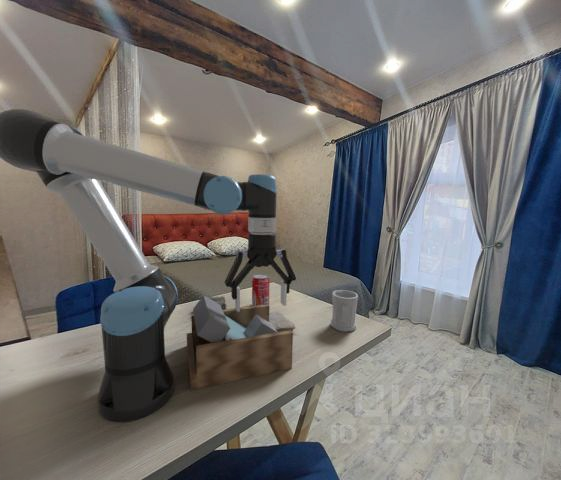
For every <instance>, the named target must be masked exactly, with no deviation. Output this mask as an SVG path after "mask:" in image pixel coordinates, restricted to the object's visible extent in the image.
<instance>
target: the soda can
mask: <svg viewBox="0 0 561 480" xmlns="http://www.w3.org/2000/svg"><path fill="white" fill-rule="evenodd" d="M251 298H252V299H251V305H252V306H258V305H266V304H268V305H269V306H270V278H269V274H266V273H264V274H263V273H258V274H254V275H253V276H252V281H251Z"/></svg>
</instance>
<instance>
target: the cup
mask: <svg viewBox="0 0 561 480" xmlns="http://www.w3.org/2000/svg"><path fill="white" fill-rule="evenodd" d="M331 294H332V295H331V296H332V297H331V298H332V317H331V320H330V325H331V327H332V328H333V329H335V331H336V330H337V331H340V332H346V333H347V332H348V331H349V332H352V331H354V330H356V329H357V322H356V314H357V306H358V301H359V295H358V293H357V292H354V291H352V290H347V289H346V290H345V289H339V290H338V289H337V290H334V291H332V293H331ZM349 332H348V333H349Z"/></svg>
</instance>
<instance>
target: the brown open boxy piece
mask: <svg viewBox="0 0 561 480" xmlns="http://www.w3.org/2000/svg"><path fill="white" fill-rule="evenodd" d="M223 312H224V315H225V316H227V317H229V318H230V319H232V320H234V321H236V322H237V323H239V324H241V325H243V326H244V327H246V328H247V326H248V325H249V323H250V322H251V321H252V319H253V318H254V316H255V315H258V316H260V317H261V318H263V319H264V320H266V321H268V322H269V313H270V304H269V305H268V304H266V305H258V306H253V305H252V306H243V307H240V312H237V311H236V309H235V307H234V308H228V309H227V308H226V309H225V310H223ZM190 316H191V318H190V321H191V332H187V333H186V351H187V360H188V361H187V362H188V363H187V364H188V375H189V387H190V391H195V390H200V389H203V388H208V387H213V386H217V385H221V384H222V385H223V384H227V383H231V382H236V381H241V380H245V379H250V378H255V377H259V376H263V375H268V374H273V373H277V372H281V371H285V370H290V369H291V370H292V368H293V343H294V342H293V339H294V332H293V331H291V330H289V331H283V332H277V333H271V334H265V335H258V336H252V337H246V338H240V339H234V340H228V341H226V340H225V337H224V338H223V340H222V341H221V342H216V343H211V342H210V341H208V340H206V339H204V338H202V337H200V336H198V335H197V331H196V325H195V319H194V313H191V315H190ZM194 348H195V349H194Z"/></svg>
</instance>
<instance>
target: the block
mask: <svg viewBox="0 0 561 480" xmlns="http://www.w3.org/2000/svg"><path fill="white" fill-rule="evenodd" d="M244 332H245V334H246V336H247V337H252V336H258V335H265V334H271V333H277V331H276V329H275V328H274V327H273V325H272V324H271V323H269V322H268V321H266V320H264V319H263V318H261V317H260V316H258V315H255V316H254V318H253V319H252V321H251V322H250V323H249V325H248V326H247V328H246V329H245V331H244Z"/></svg>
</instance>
